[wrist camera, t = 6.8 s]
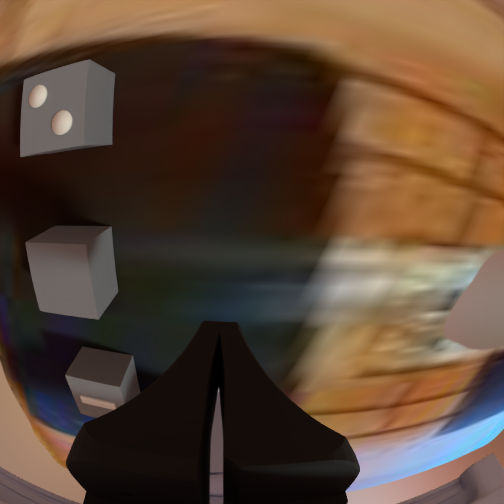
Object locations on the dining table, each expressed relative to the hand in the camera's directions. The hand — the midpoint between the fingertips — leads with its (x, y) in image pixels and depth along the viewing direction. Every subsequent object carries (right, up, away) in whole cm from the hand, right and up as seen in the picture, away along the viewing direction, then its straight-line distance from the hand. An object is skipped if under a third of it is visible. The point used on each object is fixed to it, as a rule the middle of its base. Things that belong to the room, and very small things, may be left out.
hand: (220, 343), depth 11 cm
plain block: (-11, +3, +8) cm, 14 cm away
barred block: (-12, -7, +12) cm, 18 cm away
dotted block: (-10, +13, +5) cm, 17 cm away
